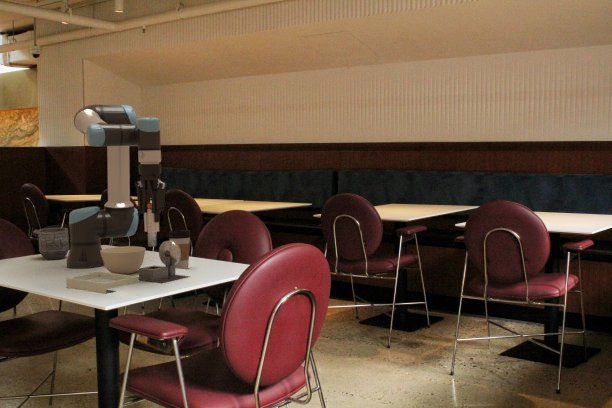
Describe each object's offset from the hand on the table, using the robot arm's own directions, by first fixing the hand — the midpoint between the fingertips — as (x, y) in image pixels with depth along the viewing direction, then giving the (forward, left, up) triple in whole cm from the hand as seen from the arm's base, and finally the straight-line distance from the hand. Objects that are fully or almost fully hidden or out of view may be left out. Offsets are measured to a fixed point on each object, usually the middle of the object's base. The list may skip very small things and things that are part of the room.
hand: (151, 231), depth 235 cm
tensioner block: (0, +3, -18) cm, 18 cm away
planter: (-81, +18, -18) cm, 85 cm away
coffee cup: (-13, +26, -18) cm, 34 cm away
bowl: (-20, +4, -18) cm, 27 cm away
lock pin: (0, 0, -5) cm, 5 cm away
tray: (-11, -13, -18) cm, 25 cm away
